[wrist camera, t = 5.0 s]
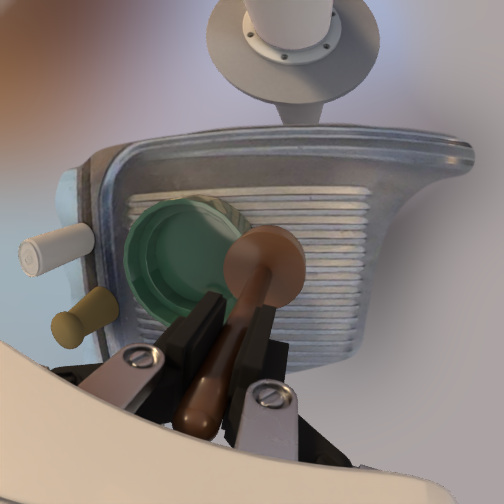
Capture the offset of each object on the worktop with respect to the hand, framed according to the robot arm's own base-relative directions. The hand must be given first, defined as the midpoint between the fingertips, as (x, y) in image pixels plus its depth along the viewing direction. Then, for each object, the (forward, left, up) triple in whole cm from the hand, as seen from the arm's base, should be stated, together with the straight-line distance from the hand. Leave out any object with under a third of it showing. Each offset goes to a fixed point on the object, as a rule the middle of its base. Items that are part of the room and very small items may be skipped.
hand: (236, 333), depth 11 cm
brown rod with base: (0, 0, -10) cm, 10 cm away
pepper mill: (+18, -24, -24) cm, 39 cm away
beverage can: (+8, -28, -24) cm, 38 cm away
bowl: (+6, -9, -24) cm, 26 cm away
